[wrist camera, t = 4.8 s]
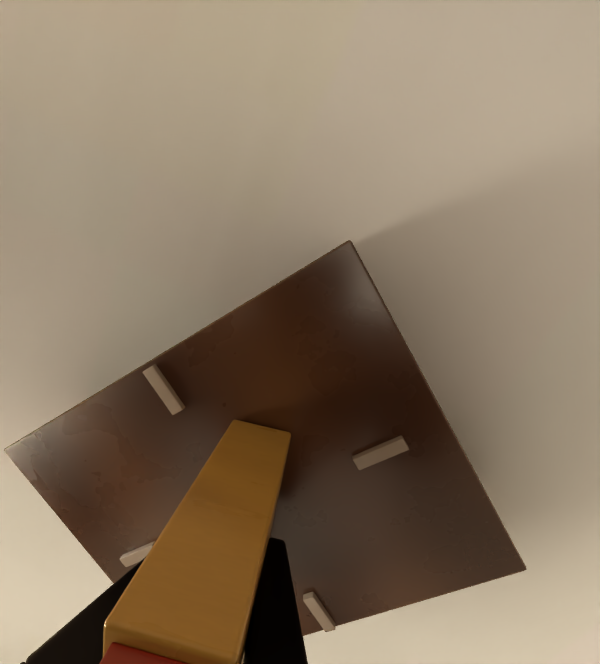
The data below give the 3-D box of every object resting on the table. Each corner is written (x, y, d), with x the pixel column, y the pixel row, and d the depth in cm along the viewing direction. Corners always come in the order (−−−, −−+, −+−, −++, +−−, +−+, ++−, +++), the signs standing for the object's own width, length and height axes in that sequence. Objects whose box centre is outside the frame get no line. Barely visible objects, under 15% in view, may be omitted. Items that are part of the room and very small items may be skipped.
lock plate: (217, 581, 13) (183, 677, 10) (84, 404, 12) (-4, 453, 9) (474, 487, 11) (532, 577, 8) (344, 247, 9) (350, 238, 6)
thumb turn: (260, 585, 9) (182, 932, 4) (210, 572, 9) (82, 896, 4) (292, 431, 7) (228, 695, 3) (233, 418, 8) (81, 652, 3)
